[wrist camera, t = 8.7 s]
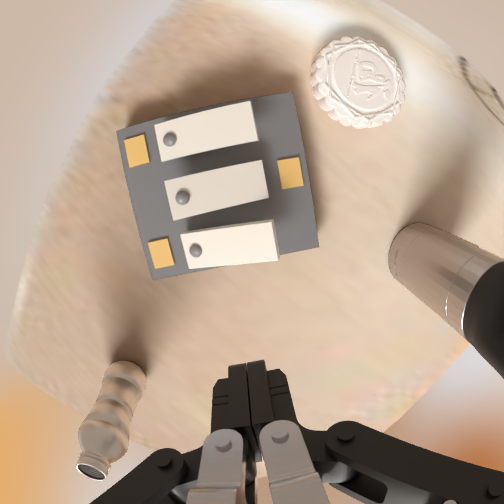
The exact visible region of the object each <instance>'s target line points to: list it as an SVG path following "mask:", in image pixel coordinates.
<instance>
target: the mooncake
mask: <svg viewBox="0 0 504 504" xmlns="http://www.w3.org/2000/svg"><path fill="white" fill-rule="evenodd" d="M311 71H312V73H313V74H312V75H311V76H310V83H311V85H312V86H313V90H312V93H313V95H314V97H315V98H316V99H318V100H319V106H320V108H321V109H323V110H325V111H328V115H329V117H330V118H332V119H333V120H339V121H340V123H341V124H342V125H344V126H351V125H352V126H353V127H354V128H357V129H361V128H366V127H368V128H371V127H377V126H381V125H382V124H383V123H384V122H389V121H391V120H392V119H393V117H394V114H397V113H399V112H400V110H401V104H402V103H403V102H404V100H405V95H404V93H403V91H404V90H405V83H404V81H403V80H402V78H403V73H402V71H401V69H400V68H398V67H397V62H396V60H395V58H393V57H392V56H390V55H389V54H388V51H387V50H386V49H385V48H384V47H381V46H378V45H377V44H376V43H375V42H374V41H373V40H365V39H364V38H362V37H360V36H355V37H353V38H351V37H349V36H344V37H342V38H341V39H340V40H332V41H331V42H330V43H329V44H328V45H327V46H326V47H324V48H323V49H322V50H321V51H320V52H319V53H318V54H317V56H316V61H315V62H314V63H313V64H312V66H311Z"/></svg>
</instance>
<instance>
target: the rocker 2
mask: <svg viewBox="0 0 504 504" xmlns="http://www.w3.org/2000/svg"><path fill="white" fill-rule="evenodd" d="M180 236H181V240H182V244H183V248H184V252H185V255H186V259H187V263H188V267H189V269H195V268H206V267H217V266H227V265H238V264H248V263H258V262H269V261H278V260H279V257H280V254H279V248H278V242H277V236H276V231H275V225H274V219H270V220H263V221H255V222H248V223H240V224H233V225H226V226H219V227H212V228H205V229H198V230H191V231H185V232H183V233H182V234H180Z"/></svg>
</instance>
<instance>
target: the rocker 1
mask: <svg viewBox="0 0 504 504" xmlns="http://www.w3.org/2000/svg"><path fill="white" fill-rule="evenodd" d="M154 126H155V132H156V137H157V142H158V147H159V152H160V157H161V162H164V161H169V160H173V159H177V158H181V157H185V156H189V155H193V154H197V153H201V152H206V151H210V150H215V149H219V148H224V147H229V146H233V145H238V144H243V143H249V142H254V141H259V138H258V133H257V128H256V123H255V118H254V113H253V108H252V103H251V101H247V102H242V103H237V104H232V105H228V106H223V107H219V108H215V109H211V110H206V111H202V112H199V113H195V114H191V115H187V116H183V117H180V118H176V119H173V120H169V121H166V122H163V123H159V124H156V125H154Z"/></svg>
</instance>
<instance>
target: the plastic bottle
mask: <svg viewBox="0 0 504 504" xmlns="http://www.w3.org/2000/svg"><path fill="white" fill-rule="evenodd" d="M145 389H146V377H145V374H144V373H143V371H142V370H141V368H140V367H138V366H137V365H136V364H134V363H132V362H129V361H118V362H114V363H112V364H111V365H110V366H109V367H108V369H107V370H106V371H105V374H104V377H103V382H102V387H101V390H100V393H99V396H98V399H97V400H96V403H95V404H94V406H93V408H92V410H91V411H90V413H89V414H88V416H87V417H86V419H85V420H84V421H83V423H82V424H81V426H80V428H79V431H78V439H79V442H80V446H81V449H82V451H83V452H82V453H81V454H80V455H79V460H78V462H77V465H76V467H77V469H78V471H79V472H80V473H82V474H83V475H84V476H87V477H88V478H91V479H93V480H99V481H103V480H105V479H106V477H107V474H108V472H109V471H110V468H111V465H110V464H111V463H113V462H115V461H117V460H119V459H120V458H122V457H123V456H124V455H125V453H126V452H127V450H128V445H129V434H130V426H131V421H132V417H133V413H134V410H135V408H136V406H137V404H138V401H139V400H140V399H141V397H142V395H143V394H144V392H145Z"/></svg>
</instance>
